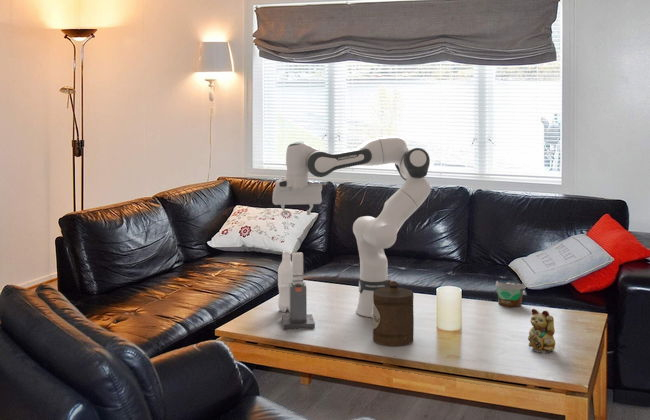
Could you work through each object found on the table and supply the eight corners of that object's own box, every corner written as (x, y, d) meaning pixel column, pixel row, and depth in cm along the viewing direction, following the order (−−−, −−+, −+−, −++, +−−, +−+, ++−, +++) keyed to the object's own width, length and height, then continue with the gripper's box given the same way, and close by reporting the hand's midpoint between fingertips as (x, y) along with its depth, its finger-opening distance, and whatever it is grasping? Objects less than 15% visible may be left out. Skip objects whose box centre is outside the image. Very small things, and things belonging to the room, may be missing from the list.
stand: (311, 319, 315) (311, 278, 312) (314, 328, 303) (314, 286, 301) (281, 320, 314) (281, 279, 311) (283, 329, 302) (283, 287, 299)
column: (302, 302, 309) (302, 252, 306) (303, 305, 305) (303, 254, 302) (292, 302, 309) (291, 252, 306) (293, 305, 305) (292, 254, 302)
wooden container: (377, 332, 299) (378, 275, 295) (416, 335, 295) (417, 278, 291) (368, 344, 285) (369, 285, 281) (409, 348, 281) (410, 288, 277)
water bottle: (293, 313, 323) (292, 253, 319) (276, 312, 324) (275, 253, 320) (297, 308, 330) (296, 249, 326) (280, 307, 331) (280, 249, 327)
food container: (492, 306, 332) (493, 283, 330) (495, 302, 338) (495, 280, 336) (522, 309, 327) (523, 286, 326) (524, 305, 333) (525, 282, 331)
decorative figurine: (524, 350, 279) (525, 308, 276) (533, 344, 285) (535, 303, 283) (550, 355, 273) (552, 313, 270) (559, 349, 279) (561, 308, 277)
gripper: (321, 180, 328) (321, 213, 330) (271, 181, 326) (272, 214, 328) (323, 182, 322) (323, 215, 324) (272, 183, 319) (273, 216, 322)
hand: (297, 215), depth 326 cm, fingers open, 8 cm apart
